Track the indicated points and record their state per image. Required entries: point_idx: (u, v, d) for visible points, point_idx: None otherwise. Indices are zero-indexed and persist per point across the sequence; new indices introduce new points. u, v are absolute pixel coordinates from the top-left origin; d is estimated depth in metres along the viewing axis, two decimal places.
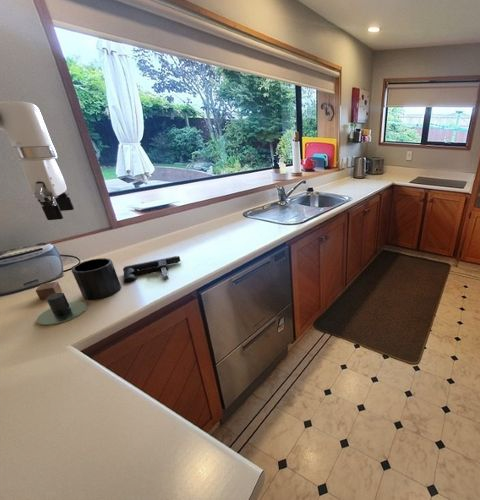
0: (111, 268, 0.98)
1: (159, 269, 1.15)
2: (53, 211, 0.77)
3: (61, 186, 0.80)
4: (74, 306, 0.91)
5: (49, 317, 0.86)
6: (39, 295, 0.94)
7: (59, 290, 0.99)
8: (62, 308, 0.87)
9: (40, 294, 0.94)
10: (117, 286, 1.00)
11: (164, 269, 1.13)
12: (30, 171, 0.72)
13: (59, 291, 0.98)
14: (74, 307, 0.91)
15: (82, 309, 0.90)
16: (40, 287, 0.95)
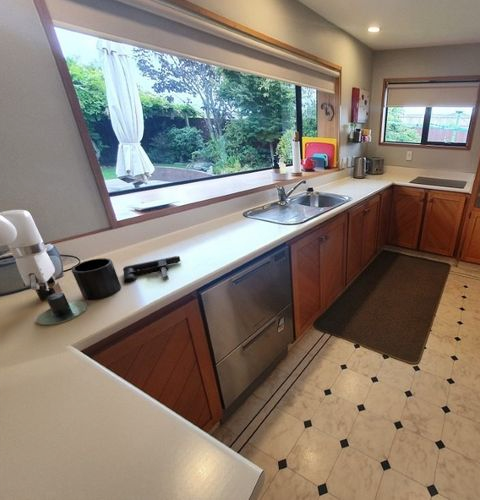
0: (111, 268, 0.98)
1: (159, 269, 1.15)
2: (47, 295, 0.94)
3: (50, 271, 0.95)
4: (74, 306, 0.91)
5: (49, 317, 0.86)
6: None
7: (59, 290, 0.99)
8: (62, 308, 0.87)
9: None
10: (117, 286, 1.00)
11: (164, 269, 1.13)
12: (23, 266, 0.87)
13: (59, 291, 0.98)
14: (74, 307, 0.91)
15: (82, 309, 0.90)
16: None
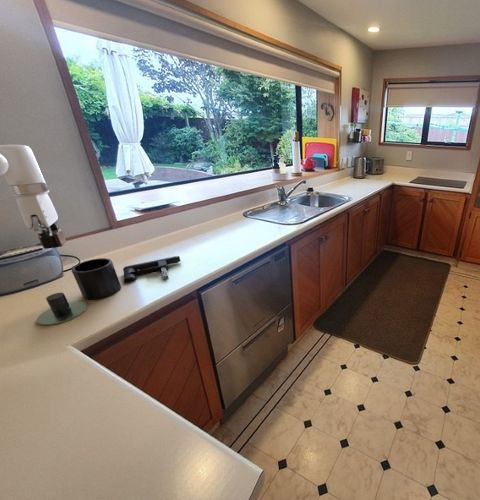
0: (111, 268, 0.98)
1: (159, 269, 1.15)
2: (50, 241, 0.88)
3: (53, 216, 0.88)
4: (74, 306, 0.91)
5: (49, 317, 0.86)
6: None
7: (63, 239, 0.92)
8: (62, 308, 0.87)
9: None
10: (117, 286, 1.00)
11: (164, 269, 1.13)
12: (25, 206, 0.81)
13: (63, 240, 0.92)
14: (74, 307, 0.91)
15: (82, 309, 0.90)
16: None
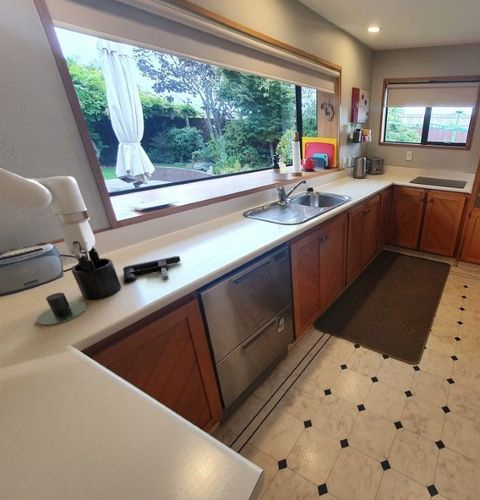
0: (111, 268, 0.98)
1: (159, 269, 1.15)
2: (88, 265, 0.91)
3: (92, 241, 0.93)
4: (74, 306, 0.91)
5: (49, 317, 0.86)
6: None
7: None
8: (62, 308, 0.87)
9: None
10: (117, 286, 1.00)
11: (164, 269, 1.13)
12: (68, 233, 0.86)
13: None
14: (74, 307, 0.91)
15: (82, 309, 0.90)
16: None
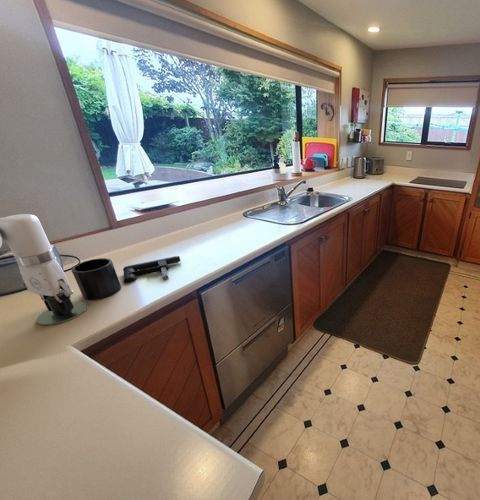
0: (111, 268, 0.98)
1: (159, 269, 1.15)
2: (69, 303, 0.87)
3: None
4: (74, 306, 0.91)
5: (49, 317, 0.86)
6: None
7: None
8: None
9: None
10: (117, 286, 1.00)
11: (164, 269, 1.13)
12: (52, 273, 0.81)
13: None
14: (74, 307, 0.91)
15: (82, 309, 0.90)
16: None
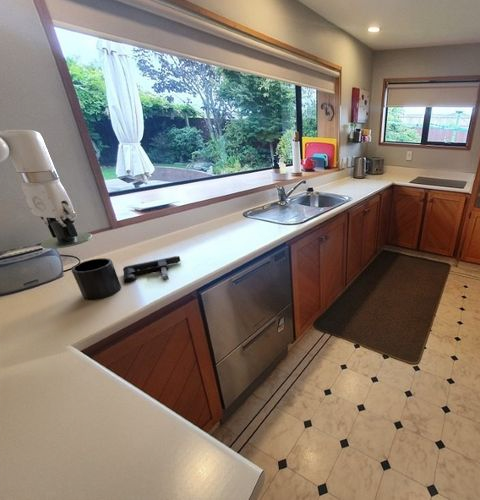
0: (111, 268, 0.98)
1: (159, 269, 1.15)
2: (73, 229, 0.86)
3: None
4: (78, 235, 0.90)
5: (53, 242, 0.85)
6: None
7: None
8: None
9: None
10: (117, 286, 1.00)
11: (164, 269, 1.13)
12: (55, 192, 0.79)
13: None
14: (78, 236, 0.90)
15: (86, 237, 0.89)
16: None
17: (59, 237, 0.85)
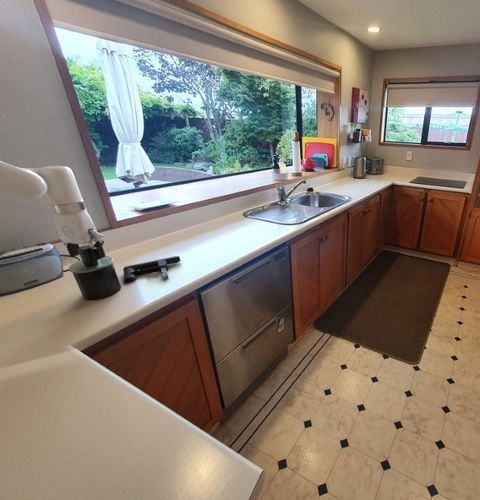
0: (111, 268, 0.98)
1: (159, 269, 1.15)
2: (102, 251, 0.93)
3: None
4: (101, 259, 0.98)
5: (80, 266, 0.93)
6: None
7: None
8: (91, 259, 0.94)
9: None
10: (117, 286, 1.00)
11: (164, 269, 1.13)
12: (83, 222, 0.87)
13: None
14: (101, 260, 0.98)
15: (109, 261, 0.97)
16: None
17: (85, 262, 0.93)
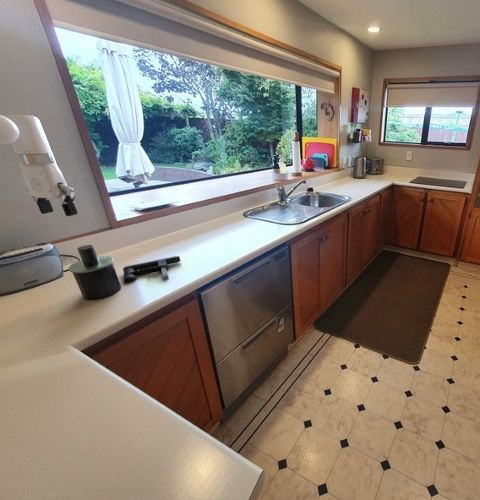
0: (111, 268, 0.98)
1: (159, 269, 1.15)
2: (73, 207, 0.91)
3: None
4: (101, 259, 0.98)
5: (80, 266, 0.93)
6: None
7: None
8: (91, 259, 0.94)
9: None
10: (117, 286, 1.00)
11: (164, 269, 1.13)
12: (52, 174, 0.85)
13: None
14: (101, 260, 0.98)
15: (109, 261, 0.97)
16: None
17: (85, 262, 0.93)
